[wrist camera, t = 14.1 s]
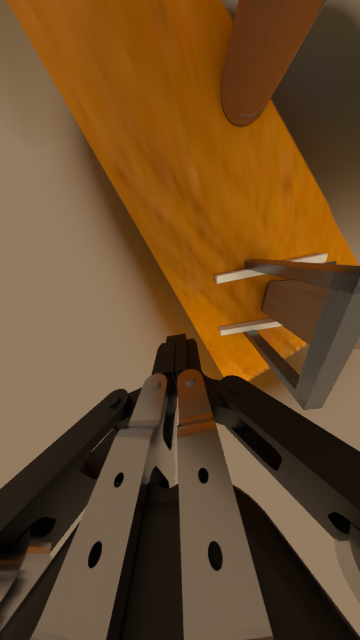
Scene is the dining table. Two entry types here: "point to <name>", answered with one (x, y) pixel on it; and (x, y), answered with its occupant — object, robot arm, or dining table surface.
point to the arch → (330, 334)
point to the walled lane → (249, 273)
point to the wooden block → (296, 306)
